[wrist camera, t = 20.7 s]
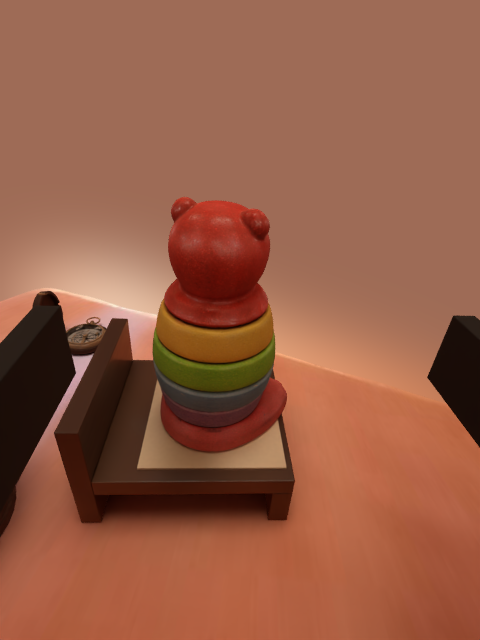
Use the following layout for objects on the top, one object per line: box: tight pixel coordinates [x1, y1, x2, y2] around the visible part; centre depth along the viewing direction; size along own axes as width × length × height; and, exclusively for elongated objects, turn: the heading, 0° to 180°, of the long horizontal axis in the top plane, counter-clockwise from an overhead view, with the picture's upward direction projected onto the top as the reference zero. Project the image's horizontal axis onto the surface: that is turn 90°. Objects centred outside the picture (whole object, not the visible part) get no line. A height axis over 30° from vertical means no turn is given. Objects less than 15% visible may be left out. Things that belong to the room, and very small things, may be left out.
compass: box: [33, 291, 106, 354], centre depth 46 cm, size 8×8×7 cm
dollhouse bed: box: [54, 318, 295, 523], centre depth 31 cm, size 16×14×10 cm
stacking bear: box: [153, 197, 287, 451], centre depth 27 cm, size 11×10×18 cm
